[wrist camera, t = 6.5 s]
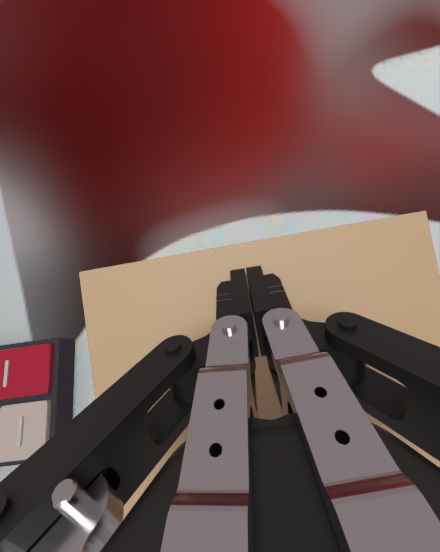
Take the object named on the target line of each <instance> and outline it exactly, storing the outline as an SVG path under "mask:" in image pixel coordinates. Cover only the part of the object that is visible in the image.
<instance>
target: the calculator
mask: <svg viewBox="0 0 440 552" xmlns="http://www.w3.org/2000/svg"><path fill="white" fill-rule="evenodd" d="M75 341H76V340H75V339H66V338H53V339H45V340H39V341H31V342H24V343H17V344H10V345H3V346H0V467H1V466H10V465H18V464H22V463H23V462H24V461H25V460H26V459H28V458H29V457H30V456H31V455H32V454H33V453H34V452H36V451H37V450H38V449H39V448H40V447H41V446H42V445H44V444H45V443H46V442H47V441H48V440H49V439H51V438H52V437H53V436H54V435H55V434H56V433H57V432H59V431H60V430H61V429H62V428H63V427H64V426H65V425H67V424H68V423H69V422H70V421H71V420H72V417H73V385H74V354H75Z"/></svg>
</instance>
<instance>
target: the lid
mask: <svg viewBox="0 0 440 552" xmlns="http://www.w3.org/2000/svg"><path fill="white" fill-rule="evenodd" d="M259 265H261V268H262V271H263V275H266V274H272V273H273V274H275V275H276V276H277V277H279V278H280V280H281V282H282V286H283V287H284V290H285V292H286V295H287V297H288V299H289V302H290V304H291V307H292V309H293V310H294V311H295V312H297V313H298V314H299V316H300V317H301V318H302V319H304V320H308V321H313V322H324V323H325V321H326V319H327V318H328V316H330V315H332V314H334V313H337V312H351V313H355V314H358V315H361V316H363V317H366V318H368V319H371V320H373V321H376V322H378V323H381V324H383V325H386V326H388V327H391V328H393V329H396V330H398V331H401V332H403V333H406V334H408V335H411V336H413V337H416V338H418V339H421V340H423V341H426V342H428V343H431V344H433V345H436V346H438V347H440V275H439V271H438V266H437V261H436V256H435V252H434V247H433V242H432V237H431V232H430V228H429V223H428V218H427V214H426V211H421V212H416V213H410V214H404V215H398V216H393V217H387V218H381V219H376V220H370V221H365V222H359V223H353V224H348V225H342V226H336V227H331V228H325V229H319V230H314V231H308V232H302V233H297V234H291V235H286V236H280V237H274V238H269V239H263V240H257V241H252V242H246V243H240V244H235V245H229V246H223V247H218V248H212V249H207V250H201V251H195V252H190V253H184V254H178V255H173V256H167V257H161V258H156V259H150V260H144V261H139V262H134V263H128V264H123V265H117V266H111V267H105V268H99V269H94V270H88V271H83V272H79V276H80V283H81V291H82V299H83V306H84V314H85V322H86V330H87V338H88V345H89V353H90V361H91V369H92V377H93V384H94V392H95V399H96V398H98V397H99V396H100V395H101V394H102V393H103V392H105V391H106V390H107V389H108V388H109V387H110V386H111V385H113V384H114V383H115V382H116V381H117V380H118V379H119V378H121V377H122V376H123V375H124V374H125V373H126V372H128V371H129V370H130V369H131V368H132V367H133V366H134V365H136V364H137V363H138V362H139V361H140V360H141V359H142V358H144V357H145V356H146V355H147V354H148V353H149V352H150V351H152V350H153V349H154V348H155V347H156V346H157V345H159V344H160V343H161V342H162V341H163V340H165V339H167V338H169V337H171V336H175V335H184V336H187V337H189V338H190V339H191V341H195V340H197V339H200V338H202V337H204V336H206V335H207V334H209V333H210V332H211V327H212V325H213V323H214V322H215V321H216V302H217V301H216V296H217V295H216V294H217V287H218V285H219V284H220V283H221V282H223V281H229V280H231V279H230V270H236V269H242V268H244V269H245V274H246V280H247V285H248V279H247V272H246V268H247V267H253V266H259ZM248 291H249V285H248ZM249 296H250V291H249ZM250 302H251V298H250ZM251 307H252V304H251ZM252 313H253V309H252ZM253 319H254V315H253ZM254 325H255V320H254ZM255 332H256V338H257V345H258V351H259V357H255V362H256V369H255V373H256V385H257V402H258V418H261V419H267V420H274V419H277V418H279V417H282V414H281V410H280V407H279V404H278V400H277V397H276V394H275V390H274V387H273V384H272V380H271V377H270V374H269V368H268V361H267V356H261V352H260V347H259V341H258V336H257V331H256V325H255ZM366 366H367V367H369V368H371V369H373V370H374V371H376V372H378V373H380V374H382V375H384V376H386V377H387V378H389V379H391V380H393V381H395V382H397V383H399V384H401V385H402V386H404V385H403V384H402V383H401V382H399V381H398V380H396V379H394V378H392V377H390V376H388V375H386V374H384V373H383V372H381V371H379V370H377V369H375V368H373V367H371V366H369V365H367V364H366ZM404 387H405V386H404ZM168 390H169V389H168ZM168 390H167V391H166V392H165V393H164V395H165V394H166V393H167V392H168ZM164 395H163V396H164ZM163 396H162V397H163ZM162 397H161V398H162ZM161 398H160V399H161ZM160 399H159V400H160ZM159 400H158V401H159ZM158 401H157V402H158ZM157 402H156V403H157ZM156 403H155V404H156ZM155 404H154V405H155ZM154 405H153V406H154ZM153 406H152V407H153ZM152 407H151V408H152ZM151 408H150V409H151ZM150 409H149V411H150ZM149 411H148V412H149ZM148 412H147V413H148ZM364 412H365V411H364ZM365 413H366V412H365ZM366 415H367V417H368V418H369V420H370V422H372V423H374V424H376V425H378V426H380V427H382V428H383V429H385V430H387V431H389V432H390V433H392V434H393V435H395V436H396V437H397V438H399V439H400V440H402V441H403V442H404V443H406V444H407V445H409V446H410V447H411V448H413V449H414V450H416V451H417V452H418V453H420V454H421V455H423V456H424V457H425V458H427V459H428V460H430V461H431V462H433V463H434V464H435V465H437V466H438V467H440V461H438V460H437V459H435V458H434V457H432V456H431V455H429V454H428V453H426V452H425V451H423V450H422V449H420V448H419V447H417V446H416V445H414V444H413V443H411V442H410V441H408V440H407V439H405V438H404V437H402V436H401V435H399V434H398V433H396V432H395V431H393V430H392V429H390V428H389V427H387V426H386V425H384V424H383V423H381V422H380V421H378V420H377V419H375V418H374V417H372V416H371V415H369V414H368V413H366ZM188 427H189V425H188V426H187V427H186V428H185V430H184V431H183V432H182V434H181V435H180V436H179V437H178V439H177V440H176V441H175V442H174V444H173V445H172V446H171V447H170V449H169V450H168V451H167V452H166V454H165V455H164V456H163V457H162V459H161V460H160V461H159V462H158V464H157V465H156V466H155V467H154V469H153V470H152V471H151V472H150V474H149V475H148V476H147V478H146V479H145V480H144V481H143V483H142V484H141V485H140V486H139V488H138V489H137V490H136V491H135V493H134V494H133V495H132V496H131V498H130V499H129V500H128V501H127V503H126V504H125V505H124V514H123V520H124V518H125V517H126V515H127V514H128V513H129V511H130V510H131V509H132V507H133V506H134V505H135V503H136V502H137V501H138V499H139V498H140V496H141V495H142V494H143V492H144V491H145V490H146V488H147V487H148V486H149V484H150V483H151V482H152V480H153V479H154V477H155V476H156V475H157V473H158V472H159V471H160V469H161V468H162V467H163V465H164V464H165V462H166V461H167V460H168V458H169V457H170V456H171V455H172V453H173V452H174V451H175V450H176V449H177V448H178V447H179V446H180V445H181V444H182V443H183V442H184V441H186V439H187V433H188ZM123 520H122V521H123Z"/></svg>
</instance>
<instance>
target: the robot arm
mask: <svg viewBox="0 0 440 552" xmlns="http://www.w3.org/2000/svg"><path fill="white" fill-rule="evenodd" d="M246 272H247V279H248V285H249V291H250V296H249V291H248V285H247V280H246V274H245V269H244V268H242V269H236V270H230V279H231V280H229V281H223V282H221V283H220V284H219V285H218V287H217V294H216V295H217V296H216V301H217V302H216V321H215V322H214V323H213V325H212V327H211V332H210V333H209V334H207V335H206V336H204V337H202V338H200V339H197V340H195V341H191V339H190V338H189V337H187V336H184V335H175V336H171V337H169V338H167V339H165V340H163V341H162V342H161V343H160V344H159V345H157V346H156V347H155V348H154V349H153V350H152V351H150V352H149V353H148V354H147V355H146V356H145V357H144V358H142V359H141V360H140V361H139V362H138V363H137V364H136V365H134V366H133V367H132V368H131V369H130V370H129V371H128V372H126V373H125V374H124V375H123V376H122V377H121V378H119V379H118V380H117V381H116V382H115V383H114V384H113V385H111V386H110V387H109V388H108V389H107V390H106V391H105V392H103V393H102V394H101V395H100V396H99V397H98V398H96V399H95V400H94V401H93V402H92V403H91V404H90V405H88V406H87V407H86V408H85V409H84V410H83V411H82V412H80V413H79V414H78V415H77V416H76V417H75V418H73V419H72V420H71V421H70V422H69V423H68V424H67V425H65V426H64V427H63V428H62V429H61V430H60V431H59V432H57V433H56V434H55V435H54V436H53V437H52V438H51V439H49V440H48V441H47V442H46V443H45V444H44V445H42V446H41V447H40V448H39V449H38V450H37V451H36V452H34V453H33V454H32V455H31V456H30V457H29V458H28V459H26V460H25V461H24V462H23V463H22V464H21V465H19V466H18V467H17V468H16V469H15V470H14V471H13V472H11V473H10V474H9V475H8V476H7V477H6V478H5V479H3V480H2V481H1V482H0V552H440V467H438V466H437V465H435V464H434V463H433V462H431V461H430V460H428V459H427V458H425V457H424V456H423V455H421V454H420V453H418V452H417V451H416V450H414V449H413V448H411V447H410V446H409V445H407V444H406V443H404V442H403V441H402V440H400V439H399V438H397V437H396V436H395V435H393V434H392V433H390V432H389V431H387V430H385V429H383V428H382V427H380V426H378V425H376V424H374V423H372V422H370V420H369V418H368V417H367V415H366V413H368V414H369V415H371V416H372V417H374V418H375V419H377V420H378V421H380V422H381V423H383V424H384V425H386V426H387V427H389V428H390V429H392V430H393V431H395V432H396V433H398V434H399V435H401V436H402V437H404V438H405V439H407V440H408V441H410V442H411V443H413V444H414V445H416V446H417V447H419V448H420V449H422V450H423V451H425V452H426V453H428V454H429V455H431V456H432V457H434V458H435V459H437V460H438V461H440V347H438V346H436V345H433V344H431V343H428V342H426V341H423V340H421V339H418V338H416V337H413V336H411V335H408V334H406V333H403V332H401V331H398V330H396V329H393V328H391V327H388V326H386V325H383V324H381V323H378V322H376V321H373V320H371V319H368V318H366V317H363V316H361V315H358V314H355V313H351V312H337V313H334V314H332V315H330V316H328V318H327V319H326V321H325V323H324V322H313V321H308V320H304V319H302V318H301V317H300V316H299V314H298V313H297V312H295V311H294V310H293V309H292V307H291V304H290V302H289V299H288V297H287V295H286V292H285V290H284V287H283V286H282V282H281V280H280V278H279V277H277V276H276V275H275V274H273V273H272V274H266V275H263V271H262V268H261V265H259V266H253V267H247V268H246ZM250 298H251V302H250ZM251 304H252V307H251ZM252 309H253V313H252ZM253 315H254V319H253ZM254 320H255V325H256V331H257V336H258V341H259V347H260V352H261V356H267V361H268V368H269V374H270V377H271V380H272V384H273V387H274V390H275V394H276V397H277V400H278V404H279V407H280V410H281V414H282V417H279V418H277V419H274V420H267V419H261V418H258V402H257V385H256V373H255V369H256V362H255V357H259V351H258V345H257V338H256V332H255V325H254ZM366 364H367V365H369V366H371V367H373V368H375V369H377V370H379V371H381V372H383V373H384V374H386V375H388V376H390V377H392V378H394V379H396V380H398V381H399V382H401V383H402V384H403V385H404V386H405V387H404V386H402V385H401V384H399V383H397V382H395V381H393V380H391V379H389V378H387V377H386V376H384V375H382V374H380V373H378V372H376V371H374V370H373V369H371V368H369V367H367V366H366ZM168 389H169V390H168ZM167 390H168V392H167V393H166V394H165V395H164V393H165V392H166V391H167ZM163 395H164V396H163ZM162 396H163V397H162ZM161 397H162V398H161ZM160 398H161V399H160ZM159 399H160V400H159ZM158 400H159V401H158ZM157 401H158V402H157ZM156 402H157V403H156ZM155 403H156V404H155ZM154 404H155V405H154ZM153 405H154V406H153ZM152 406H153V407H152ZM151 407H152V408H151ZM150 408H151V409H150ZM149 409H150V411H149ZM148 411H149V412H148ZM364 411H365V412H366V413H365V412H364ZM147 412H148V413H147ZM188 425H189V427H188V433H187V439H186V441H184V442H183V443H182V444H181V445H180V446H179V447H178V448H177V449H176V450H175V451H174V452H173V453H172V455H171V456H170V457H169V458H168V460H167V461H166V462H165V464H164V465H163V467H162V468H161V469H160V471H159V472H158V473H157V475H156V476H155V477H154V479H153V480H152V482H151V483H150V484H149V486H148V487H147V488H146V490H145V491H144V492H143V494H142V495H141V496H140V498H139V499H138V501H137V502H136V503H135V505H134V506H133V507H132V509H131V510H130V511H129V513H128V514H127V515H126V517H125V518H124V520H123V514H124V505H125V504H126V503H127V501H128V500H129V499H130V498H131V496H132V495H133V494H134V493H135V491H136V490H137V489H138V488H139V486H140V485H141V484H142V483H143V481H144V480H145V479H146V478H147V476H148V475H149V474H150V472H151V471H152V470H153V469H154V467H155V466H156V465H157V464H158V462H159V461H160V460H161V459H162V457H163V456H164V455H165V454H166V452H167V451H168V450H169V449H170V447H171V446H172V445H173V444H174V442H175V441H176V440H177V439H178V437H179V436H180V435H181V434H182V432H183V431H184V430H185V428H186V427H187V426H188ZM122 520H123V521H122Z"/></svg>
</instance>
